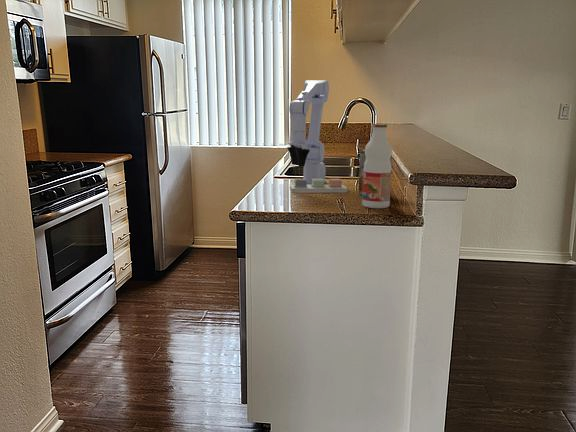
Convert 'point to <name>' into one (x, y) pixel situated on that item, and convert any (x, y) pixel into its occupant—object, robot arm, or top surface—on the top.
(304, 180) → the key slate
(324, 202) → the top surface
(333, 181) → the key terracotta
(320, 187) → the keypad
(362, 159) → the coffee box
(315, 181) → the key sage
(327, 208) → the top surface
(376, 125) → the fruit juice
